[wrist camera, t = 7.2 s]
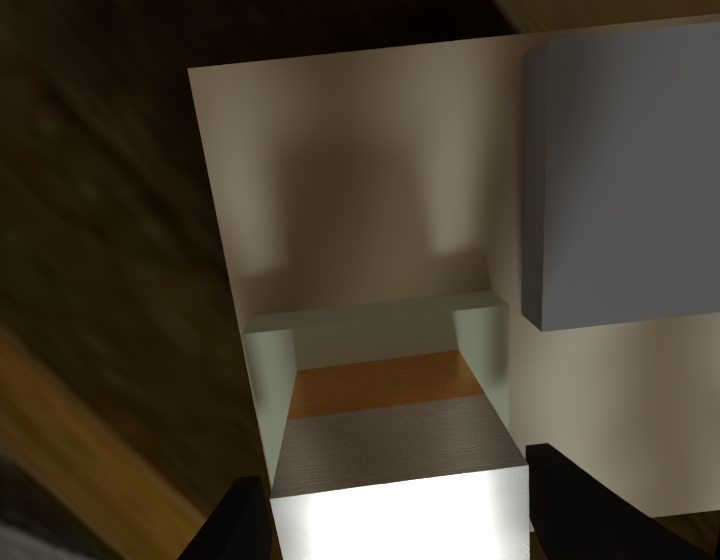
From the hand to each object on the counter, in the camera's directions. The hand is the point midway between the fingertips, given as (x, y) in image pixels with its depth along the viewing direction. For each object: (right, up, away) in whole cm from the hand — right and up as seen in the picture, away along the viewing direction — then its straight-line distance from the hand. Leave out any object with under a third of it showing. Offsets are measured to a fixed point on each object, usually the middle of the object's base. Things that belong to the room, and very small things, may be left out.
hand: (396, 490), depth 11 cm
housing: (0, +1, +2) cm, 2 cm away
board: (+4, +4, +4) cm, 7 cm away
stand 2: (+8, +9, +3) cm, 12 cm away
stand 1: (0, +1, +5) cm, 5 cm away
